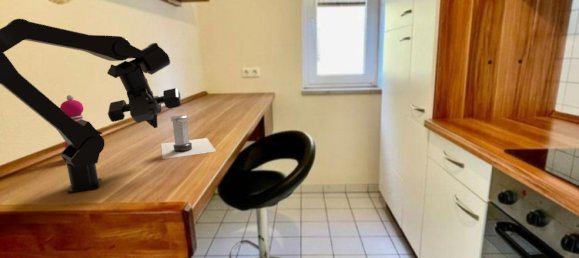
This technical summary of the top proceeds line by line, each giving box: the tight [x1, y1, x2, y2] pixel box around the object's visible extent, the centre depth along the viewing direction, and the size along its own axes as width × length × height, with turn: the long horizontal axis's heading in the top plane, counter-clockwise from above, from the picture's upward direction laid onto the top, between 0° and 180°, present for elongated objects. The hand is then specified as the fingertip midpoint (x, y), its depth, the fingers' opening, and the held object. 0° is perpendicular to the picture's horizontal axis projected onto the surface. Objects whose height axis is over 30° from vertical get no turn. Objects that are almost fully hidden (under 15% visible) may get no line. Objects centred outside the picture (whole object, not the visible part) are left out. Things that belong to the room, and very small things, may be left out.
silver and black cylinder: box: [170, 114, 192, 152], centre depth 108 cm, size 6×6×11 cm
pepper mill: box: [59, 94, 84, 149], centre depth 104 cm, size 7×7×20 cm
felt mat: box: [160, 137, 217, 160], centre depth 112 cm, size 20×16×1 cm
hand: (156, 127), depth 98 cm, fingers closed
